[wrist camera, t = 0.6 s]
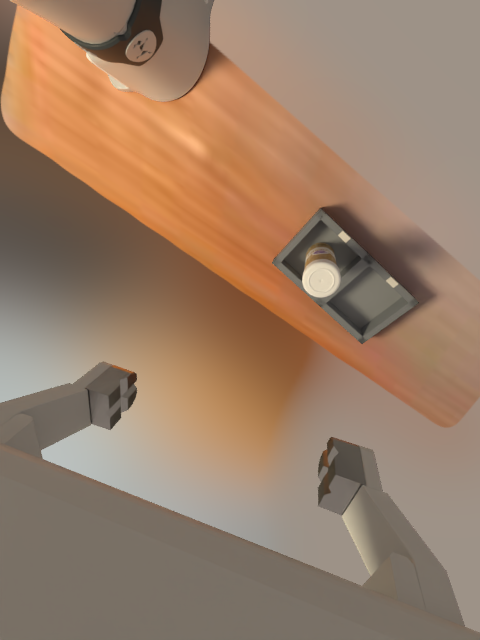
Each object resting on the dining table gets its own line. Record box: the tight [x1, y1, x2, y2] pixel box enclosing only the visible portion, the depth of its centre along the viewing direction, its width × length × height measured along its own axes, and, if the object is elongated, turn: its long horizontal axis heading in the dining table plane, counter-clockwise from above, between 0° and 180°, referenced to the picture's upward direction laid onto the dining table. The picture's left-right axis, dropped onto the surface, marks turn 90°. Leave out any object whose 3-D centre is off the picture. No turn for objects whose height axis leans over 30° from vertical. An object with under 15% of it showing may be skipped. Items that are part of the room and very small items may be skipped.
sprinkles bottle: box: [302, 243, 341, 298], centre depth 39 cm, size 5×5×14 cm
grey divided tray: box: [272, 208, 419, 344], centre depth 44 cm, size 20×10×4 cm, turn 51°
